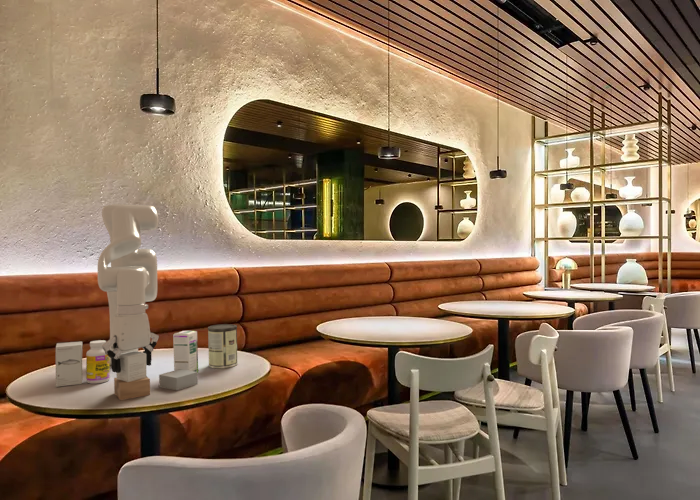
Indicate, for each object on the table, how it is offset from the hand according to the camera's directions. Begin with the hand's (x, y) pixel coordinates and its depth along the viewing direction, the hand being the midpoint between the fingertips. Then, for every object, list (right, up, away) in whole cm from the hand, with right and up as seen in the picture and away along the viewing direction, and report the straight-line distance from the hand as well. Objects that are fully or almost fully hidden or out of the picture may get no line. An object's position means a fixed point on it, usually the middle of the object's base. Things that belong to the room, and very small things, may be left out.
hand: (132, 368), depth 143 cm
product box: (0, -3, 0) cm, 3 cm away
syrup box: (+9, -7, +21) cm, 24 cm away
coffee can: (+18, -7, +34) cm, 39 cm away
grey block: (+11, -8, +9) cm, 16 cm away
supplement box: (-25, -8, +12) cm, 29 cm away
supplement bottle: (-17, -8, +14) cm, 23 cm away
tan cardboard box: (0, -8, 0) cm, 8 cm away
